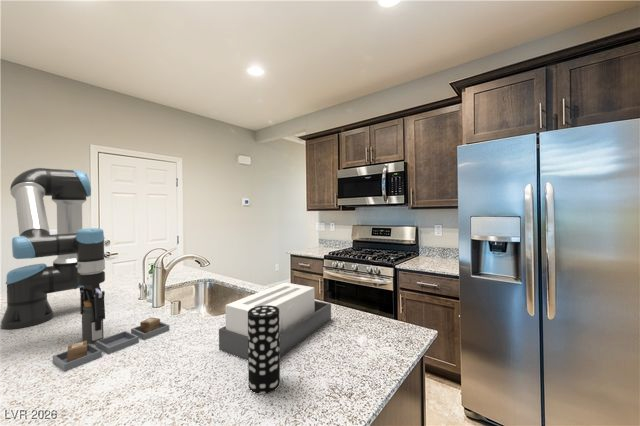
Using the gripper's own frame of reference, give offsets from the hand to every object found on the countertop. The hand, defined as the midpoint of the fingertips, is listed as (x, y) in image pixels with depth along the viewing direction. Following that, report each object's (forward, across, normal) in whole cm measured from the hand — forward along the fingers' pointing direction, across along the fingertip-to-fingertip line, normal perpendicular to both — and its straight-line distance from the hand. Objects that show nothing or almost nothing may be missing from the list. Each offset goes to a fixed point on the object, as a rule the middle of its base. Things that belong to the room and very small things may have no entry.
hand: (93, 336), depth 100 cm
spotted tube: (+2, +69, +13) cm, 70 cm away
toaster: (+2, +54, +38) cm, 65 cm away
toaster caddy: (+2, +54, +39) cm, 67 cm away
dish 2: (+2, +11, +3) cm, 12 cm away
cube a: (+1, +11, +14) cm, 18 cm away
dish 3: (+2, +11, +14) cm, 18 cm away
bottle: (+2, 0, 0) cm, 2 cm away
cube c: (+1, +11, -8) cm, 14 cm away
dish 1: (+2, +11, -8) cm, 14 cm away
